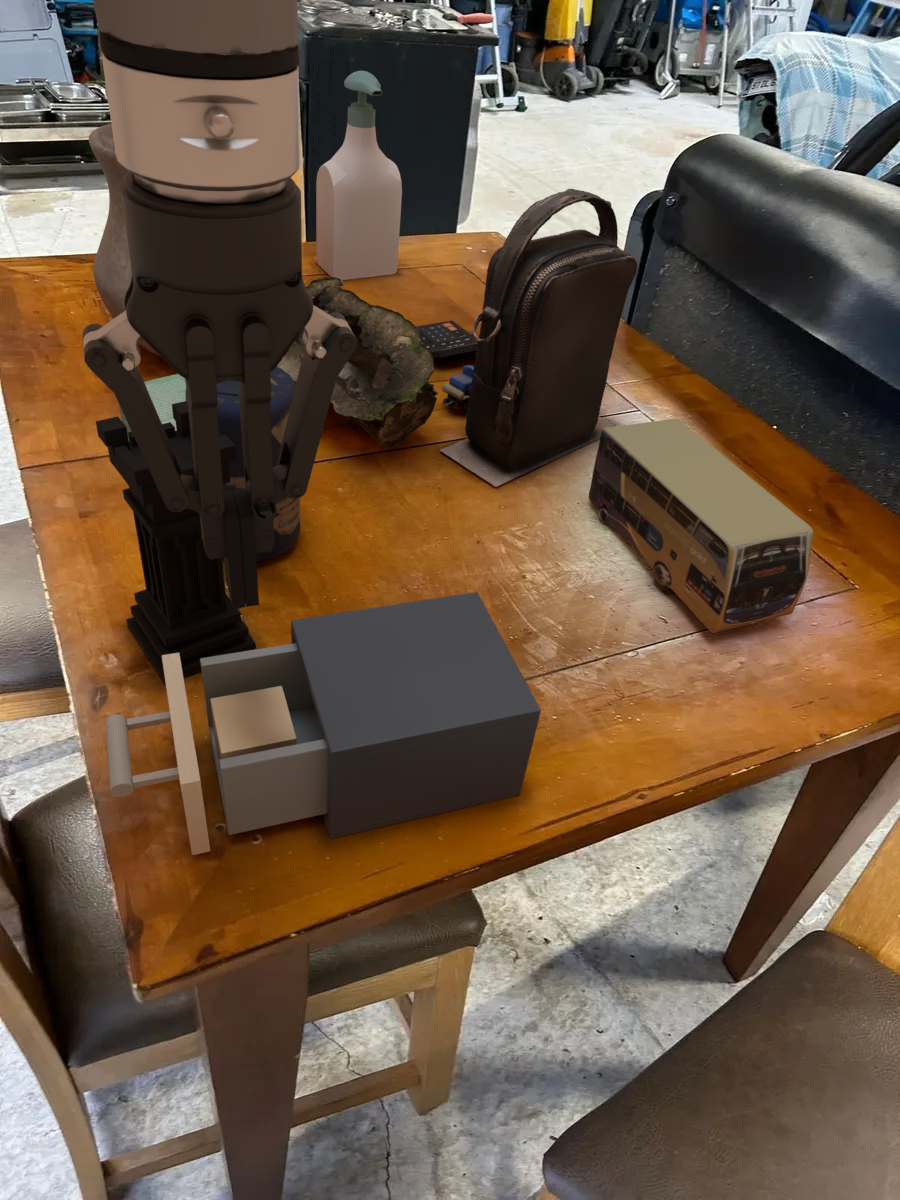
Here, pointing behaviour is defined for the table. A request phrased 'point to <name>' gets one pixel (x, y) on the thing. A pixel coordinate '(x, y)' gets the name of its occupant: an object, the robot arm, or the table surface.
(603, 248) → the shoulder bag
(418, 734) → the cabinet
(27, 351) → the table surface
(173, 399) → the box
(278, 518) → the canister
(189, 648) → the chess piece
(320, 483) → the table surface
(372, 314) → the hollow geode rock
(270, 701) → the block
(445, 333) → the calculator
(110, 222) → the vase
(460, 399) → the toy train
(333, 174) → the soap bottle
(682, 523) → the toy bus
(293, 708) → the drawer
